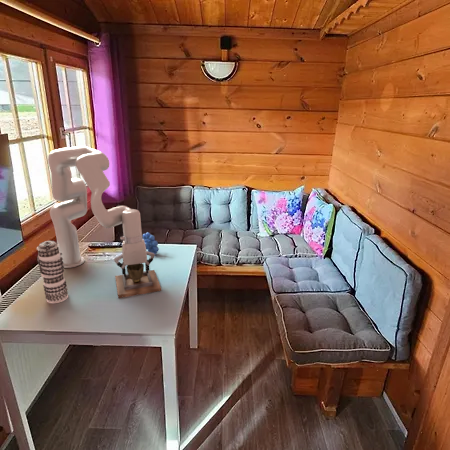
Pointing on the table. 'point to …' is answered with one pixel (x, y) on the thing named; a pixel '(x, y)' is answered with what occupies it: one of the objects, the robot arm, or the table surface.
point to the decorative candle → (52, 272)
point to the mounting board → (137, 284)
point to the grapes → (150, 243)
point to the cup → (135, 272)
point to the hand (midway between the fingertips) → (136, 273)
